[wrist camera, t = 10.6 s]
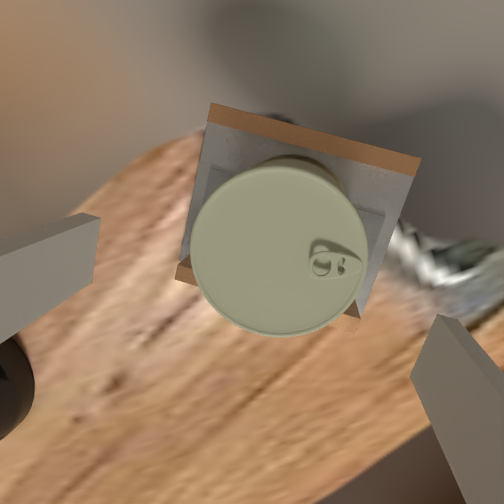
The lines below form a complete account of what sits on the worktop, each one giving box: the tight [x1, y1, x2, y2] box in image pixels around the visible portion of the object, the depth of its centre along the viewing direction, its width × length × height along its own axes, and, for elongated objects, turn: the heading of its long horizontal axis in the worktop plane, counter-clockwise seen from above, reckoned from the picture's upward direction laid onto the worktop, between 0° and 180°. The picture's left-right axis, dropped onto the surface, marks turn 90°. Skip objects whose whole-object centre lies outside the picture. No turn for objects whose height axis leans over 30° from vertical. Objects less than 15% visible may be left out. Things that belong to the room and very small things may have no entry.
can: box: [190, 155, 369, 337], centre depth 25 cm, size 9×9×12 cm
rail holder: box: [175, 103, 421, 333], centre depth 30 cm, size 16×13×5 cm
